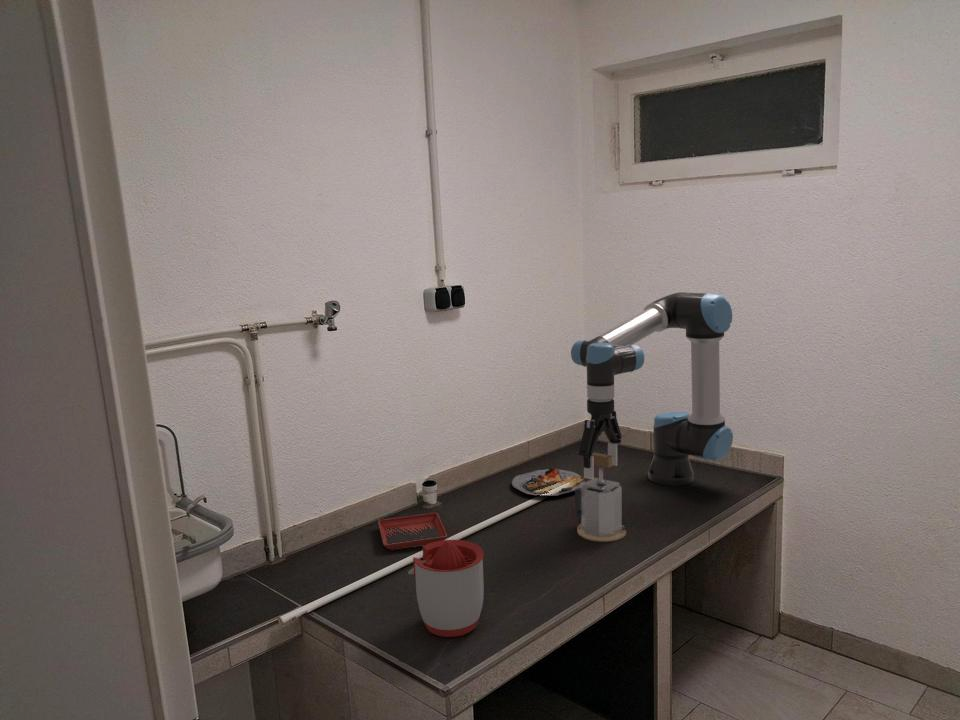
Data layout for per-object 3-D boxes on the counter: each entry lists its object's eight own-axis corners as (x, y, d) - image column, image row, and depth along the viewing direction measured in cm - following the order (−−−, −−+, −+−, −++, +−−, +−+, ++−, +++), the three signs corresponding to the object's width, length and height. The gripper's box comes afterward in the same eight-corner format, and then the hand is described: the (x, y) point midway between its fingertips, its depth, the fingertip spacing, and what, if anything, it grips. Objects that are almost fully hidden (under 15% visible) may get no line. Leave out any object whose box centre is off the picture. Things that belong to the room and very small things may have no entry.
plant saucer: (384, 555, 202) (383, 544, 201) (378, 529, 219) (377, 519, 218) (448, 546, 206) (447, 535, 205) (437, 522, 223) (437, 512, 222)
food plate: (557, 469, 265) (557, 460, 264) (600, 488, 245) (599, 478, 245) (499, 486, 252) (499, 476, 252) (539, 507, 233) (539, 497, 232)
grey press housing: (589, 517, 221) (588, 471, 218) (634, 529, 212) (634, 481, 209) (564, 533, 210) (563, 485, 208) (611, 546, 201) (611, 496, 198)
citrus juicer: (424, 602, 175) (420, 523, 171) (494, 611, 170) (491, 530, 166) (398, 637, 160) (393, 552, 157) (474, 648, 155) (471, 560, 152)
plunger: (596, 511, 215) (596, 449, 211) (618, 516, 211) (617, 453, 207) (584, 519, 209) (583, 456, 206) (606, 524, 205) (605, 460, 202)
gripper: (610, 388, 215) (610, 457, 219) (565, 406, 196) (566, 481, 200) (633, 391, 211) (633, 461, 215) (589, 410, 192) (590, 487, 196)
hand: (601, 471), depth 207 cm, fingers open, 13 cm apart
